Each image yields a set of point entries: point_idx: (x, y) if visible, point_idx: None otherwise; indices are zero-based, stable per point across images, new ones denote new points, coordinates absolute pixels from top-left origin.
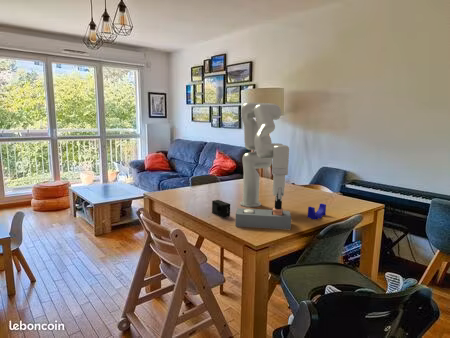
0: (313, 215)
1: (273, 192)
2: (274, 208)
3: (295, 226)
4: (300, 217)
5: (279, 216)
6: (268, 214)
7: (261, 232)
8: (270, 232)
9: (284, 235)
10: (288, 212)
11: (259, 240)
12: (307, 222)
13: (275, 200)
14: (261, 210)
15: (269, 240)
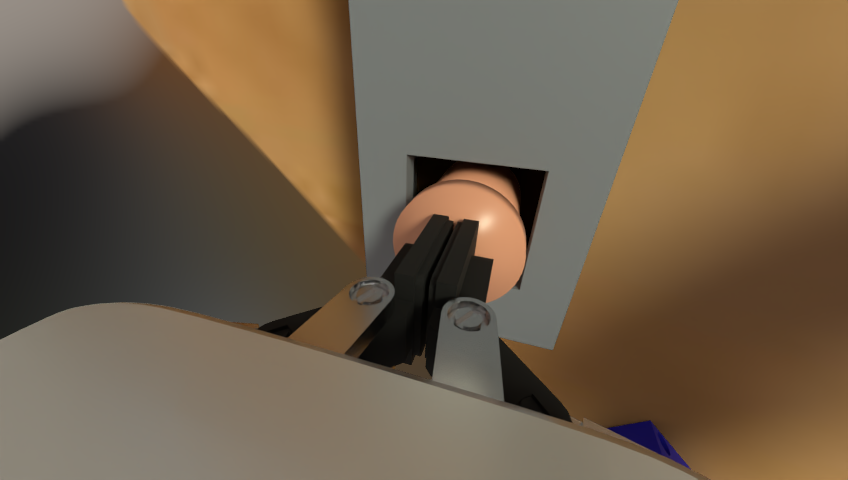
0: None
1: (8, 369)
2: (460, 211)
3: None
4: (663, 388)
5: (366, 219)
6: (408, 110)
7: (306, 28)
8: (326, 107)
9: (304, 193)
10: (500, 327)
11: (172, 9)
12: (543, 380)
13: (434, 287)
14: (606, 2)
15: (202, 85)
